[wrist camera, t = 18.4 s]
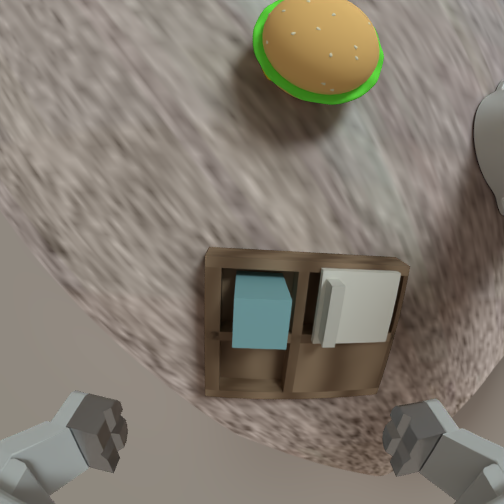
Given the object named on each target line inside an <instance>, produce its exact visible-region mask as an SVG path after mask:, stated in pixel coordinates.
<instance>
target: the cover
mask: <svg viewBox="0 0 504 504" xmlns="http://www.w3.org/2000/svg"><path fill="white" fill-rule="evenodd" d="M400 277H401V273H400V272H398V271H385V270H361V269H338V268H321V276H320V283H319V291H318V298H317V305H316V312H315V318H314V325H313V331H312V337H311V341H312V343H313V344H321V346H322V348H329V347H335V343H370V342H386V338H387V334H388V331H389V327H390V322H391V318H392V314H393V310H394V305H395V301H396V296H397V292H398V287H399V282H400Z"/></svg>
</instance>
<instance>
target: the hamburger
mask: <svg viewBox="0 0 504 504" xmlns="http://www.w3.org/2000/svg"><path fill="white" fill-rule="evenodd" d="M253 49H254V53H255V56H256V58H257V60H258V62H259V64H260V65H261V67H262V71H263V73H264V75H265V77H266V78H267V79H268V80H270V81H272V82H273V83H275V84H276V85H277V86H278V87H279V88H280V89H282V90H283V91H284V92H286V93H287V94H289V95H291V96H293V97H295V98H298V99H300V100H304V101H309V102H315V103H322V104H329V105H335V104H342V103H346V102H349V101H352V100H355V99H357V98H359V97H361V96H362V95H364V94H365V93H367V92H368V91H369V90H370V89H371V88H372V87H373V86H374V85H375V84H376V82H377V80H378V78H379V75H380V71H381V68H382V64H383V59H384V55H383V51H382V48H381V45H380V42H379V39H378V35H377V32H376V30H375V28H374V27H373V25H372V23H371V21H370V20H369V19H368V17H367V16H366V15H365V14H364V13H363V12H362V11H361V10H360V9H359V8H358V7H356V6H355V5H354V4H352V3H351V2H349V1H347V0H278V1H276V2H274V3H273V4H271V5H269V6H267V7H266V8H265V9H264V10H263V12H262V13H261V15H260V16H259V18H258V20H257V22H256V25H255V27H254V31H253Z"/></svg>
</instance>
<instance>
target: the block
mask: <svg viewBox="0 0 504 504" xmlns="http://www.w3.org/2000/svg"><path fill="white" fill-rule="evenodd" d="M291 307H292V299H291V296H290V293H289V290H288V287H287V285H286V282H285V279H284V276H283V274H282V273H273V272H253V271H236V283H235V294H234V313H233V337H232V348H251V349H286V347H287V339H288V331H289V323H290V315H291Z"/></svg>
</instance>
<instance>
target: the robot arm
mask: <svg viewBox="0 0 504 504" xmlns="http://www.w3.org/2000/svg"><path fill="white" fill-rule="evenodd" d="M474 142H475V150H476V155H477V159H478V163H479V166H480V169H481V171H482V174H483V176H484V178H485V180H486V182H487V183H488V185H489V186H490V188H491V189H492V191H493V192H494V194H495V197H496V201H497V205H498V208H499V211H500V213H501V214H502V215H503V216H504V81H501V82H500V83H499V85H498V87H497V89H496V91H495V92H494V93H492V94H490V95H488V96H486V97H485V98H484V99H483V100H482V102H481V103H480V105H479V107H478V110H477V113H476V117H475V123H474ZM122 410H123V409H122V406H121V403H120V402H119V401H118V400H114V399H110V398H105V397H101V396H97V395H93V394H88V393H84V392H80V391H76V390H75V391H73V392H72V393H71V394H70V395H69V397H68V398H67V399H66V401H65V402H64V404H63V405H62V407H61V408H60V409H59V411H58V412H57V414H56V415H55V416H54V418H53V419H52V421H51V422H49V421H45V422H43V423H41V424H39V425H36V426H34V427H32V428H29V429H27V430H25V431H22V432H20V433H17V434H15V435H13V436H10V437H8V438H5V439H3V440H1V441H0V504H55V503H54V501H52V499H51V498H50V495H51V494H53V493H54V492H56V491H57V490H58V489H60V488H61V487H63V486H64V485H66V484H67V483H68V482H70V481H71V480H73V479H74V478H76V477H77V476H79V475H80V474H81V473H83V472H84V471H85V470H87V469H88V467H91V468H95V469H99V470H103V471H107V472H111V473H114V471H115V468H116V466H117V463H118V461H119V459H120V457H119V454H118V452H117V451H119V450H120V449H122V448H123V447H124V446H125V443H126V441H127V434H128V429H127V423H126V420H125V419H124V418H123V417H122V416H121V412H122ZM390 416H391V418H392V420H391V421H390V422H389V423H388V424H387V425H386V426H385V429H384V431H383V446H384V449H385V451H386V452H387V453H388V454H390V455H392V458H391V460H390V463H391V465H392V468H393V470H394V473H395V475H396V477H397V476H402V475H406V474H411V473H415V472H419V471H420V472H419V473H420V474H422V475H423V476H424V477H425V478H427V479H428V480H429V481H431V482H432V483H433V484H435V485H436V486H437V487H439V488H440V489H442V490H443V491H444V492H445V493H447V494H448V495H449V496H451V497H452V498H453V499H455V500H456V502H455V503H454V504H504V447H501V446H499V445H497V444H495V443H493V442H491V441H488V440H486V439H484V438H482V437H480V436H478V435H476V434H474V433H472V432H469V431H467V430H465V429H463V428H462V429H459V428H458V427H457V425H456V424H455V422H454V421H453V419H452V418H451V416H450V415H449V414H448V412H447V411H446V409H445V408H444V407H443V405H442V404H441V402H440V401H439V400H437V399H431V400H426V401H422V402H416V403H411V404H405V405H399V406H395V407H394V408H393V409H392V412H391V414H390Z"/></svg>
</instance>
